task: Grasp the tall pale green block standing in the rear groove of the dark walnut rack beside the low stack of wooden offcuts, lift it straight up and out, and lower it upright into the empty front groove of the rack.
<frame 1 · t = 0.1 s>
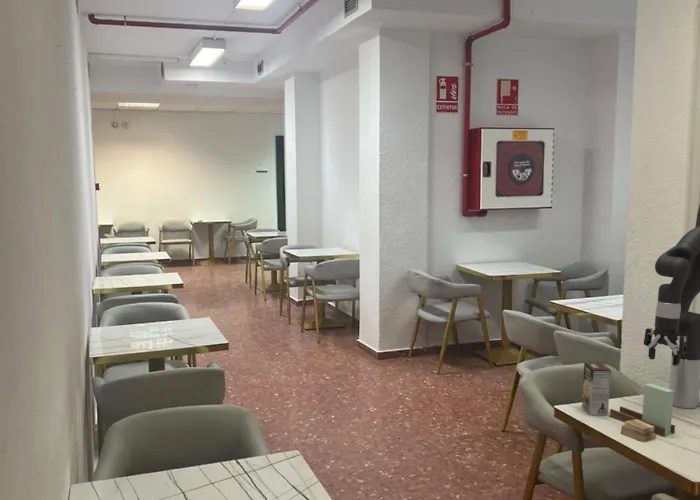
hand: (663, 362, 226), 17 cm above the table, tool pointing down, fingers open, 8 cm apart
pale green block: (655, 430, 211), on the table
offcut stack: (638, 435, 207), on the table
coffee box: (594, 411, 228), on the table
rack: (628, 419, 220), on the table
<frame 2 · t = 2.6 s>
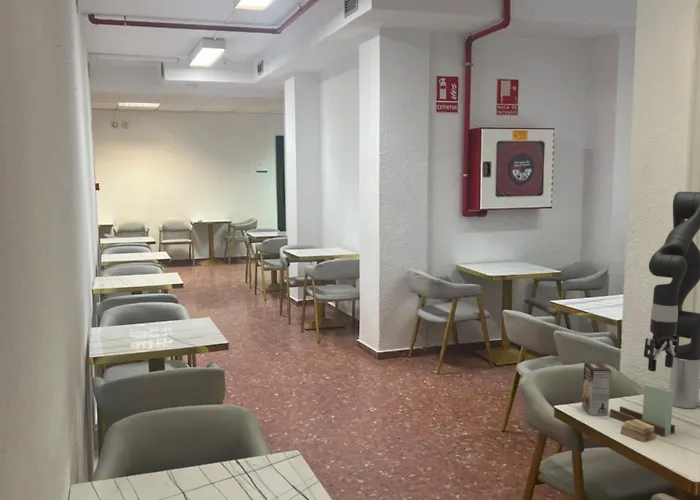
hand: (660, 369, 209), 20 cm above the table, tool pointing down, fingers open, 8 cm apart
nothing on the table moved.
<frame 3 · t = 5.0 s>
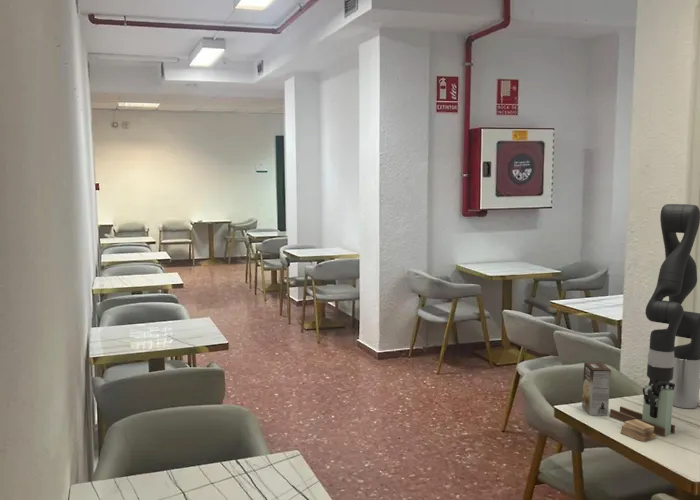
hand: (656, 416, 211), 5 cm above the table, tool pointing down, fingers closed on pale green block, 3 cm apart
pale green block: (655, 430, 211), on the table, touching gripper
everything else where it was.
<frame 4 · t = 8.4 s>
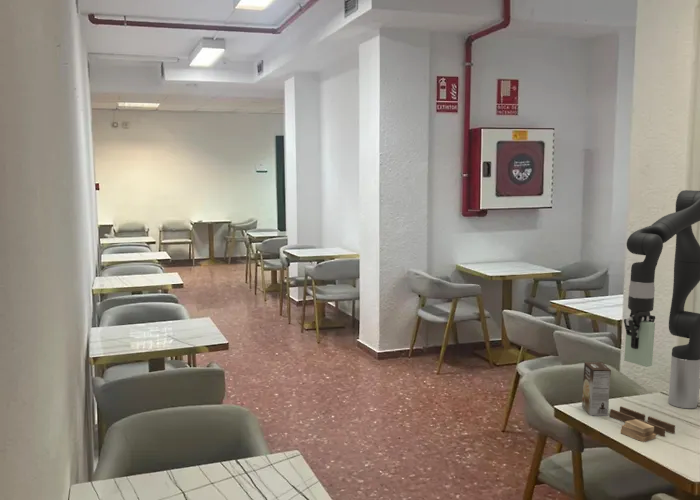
hand: (637, 347, 215), 25 cm above the table, tool pointing down, fingers closed on pale green block, 3 cm apart
pale green block: (637, 363, 216), point 20 cm above the table, touching gripper
everything else where it was.
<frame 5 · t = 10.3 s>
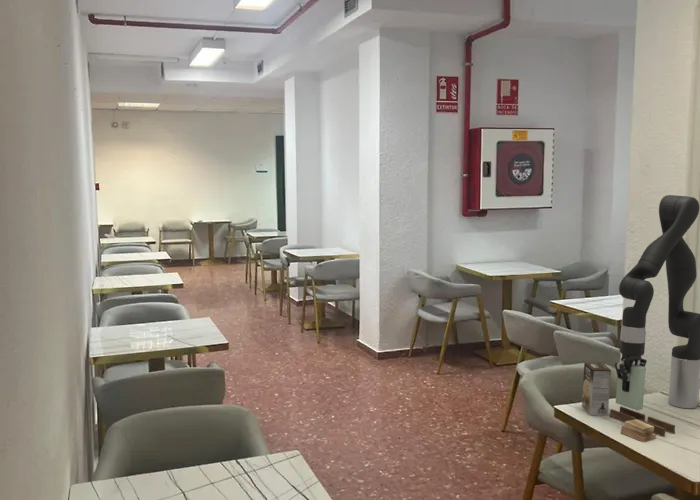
hand: (628, 390, 219), 10 cm above the table, tool pointing down, fingers closed on pale green block, 3 cm apart
pale green block: (628, 406, 219), point 5 cm above the table, touching gripper
everything else where it was.
when the fingers open (6 cm above the table, at t = 11.8 s): pale green block stays where it is, on the table.
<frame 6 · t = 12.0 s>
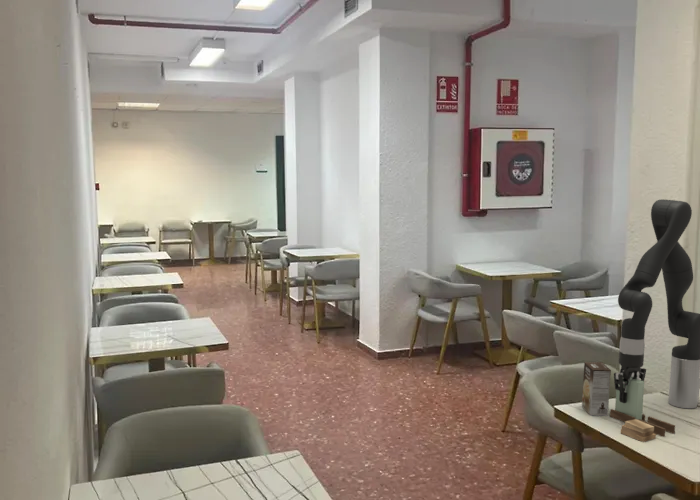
hand: (628, 400, 219), 6 cm above the table, tool pointing down, fingers open, 5 cm apart
pale green block: (627, 419, 220), on the table
everything else where it was.
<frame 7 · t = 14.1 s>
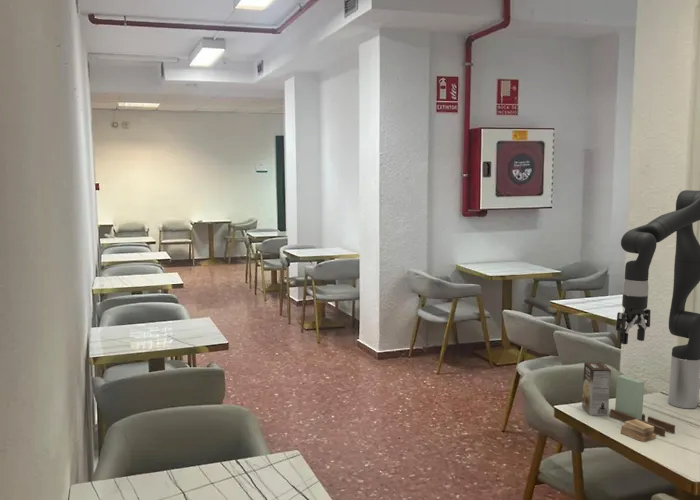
hand: (632, 342, 217), 26 cm above the table, tool pointing down, fingers open, 8 cm apart
nothing on the table moved.
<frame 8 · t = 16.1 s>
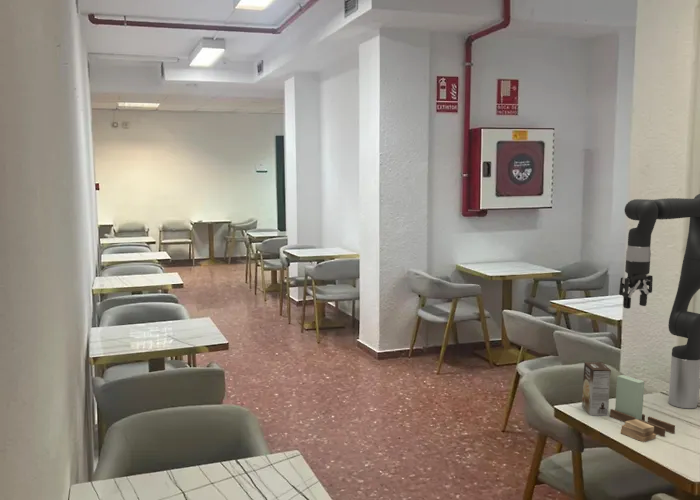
hand: (634, 306, 225), 36 cm above the table, tool pointing down, fingers open, 8 cm apart
nothing on the table moved.
at the end: pale green block 0.3 cm from the target spot, on the table; pale green block tilted 0°; the gripper is holding nothing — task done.
